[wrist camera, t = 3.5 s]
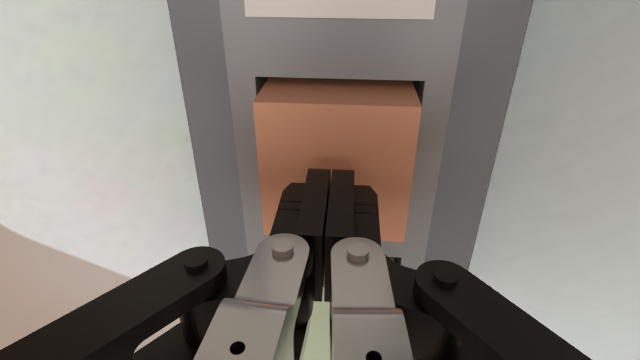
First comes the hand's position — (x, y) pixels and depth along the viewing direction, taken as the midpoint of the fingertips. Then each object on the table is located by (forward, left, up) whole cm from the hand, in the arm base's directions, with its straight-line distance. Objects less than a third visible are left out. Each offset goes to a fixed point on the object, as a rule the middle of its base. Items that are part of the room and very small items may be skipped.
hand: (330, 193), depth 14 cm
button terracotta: (0, 0, -4) cm, 4 cm away
